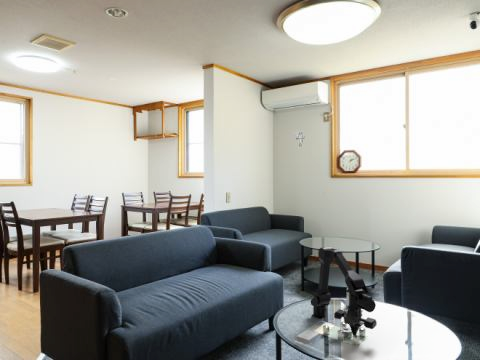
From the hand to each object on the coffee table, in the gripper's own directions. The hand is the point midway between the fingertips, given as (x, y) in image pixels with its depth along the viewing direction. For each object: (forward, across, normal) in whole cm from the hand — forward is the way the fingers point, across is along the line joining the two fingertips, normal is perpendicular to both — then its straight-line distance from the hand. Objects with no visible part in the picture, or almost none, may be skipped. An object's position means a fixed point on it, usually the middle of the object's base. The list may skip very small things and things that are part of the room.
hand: (354, 336), depth 163 cm
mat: (+2, -7, 0) cm, 7 cm away
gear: (+1, -4, 0) cm, 4 cm away
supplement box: (+2, -15, +38) cm, 41 cm away
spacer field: (+1, -5, 0) cm, 5 cm away
